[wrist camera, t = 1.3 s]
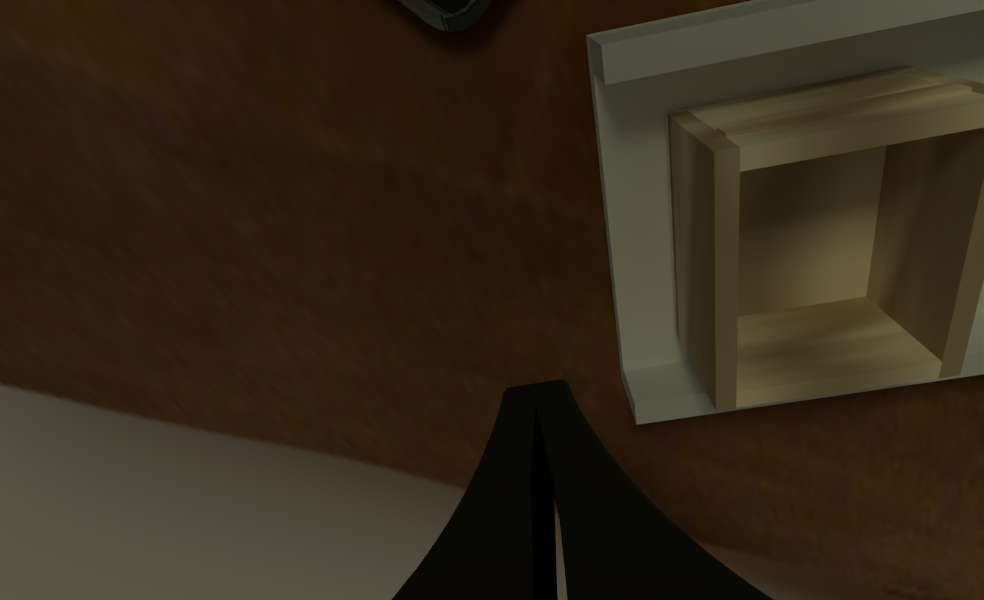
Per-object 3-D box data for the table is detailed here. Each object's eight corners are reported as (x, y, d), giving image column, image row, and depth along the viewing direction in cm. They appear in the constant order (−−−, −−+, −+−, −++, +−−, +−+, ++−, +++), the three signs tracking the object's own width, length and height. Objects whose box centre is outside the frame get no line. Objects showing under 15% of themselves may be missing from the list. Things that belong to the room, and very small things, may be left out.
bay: (1217, -97, 16) (1670, -140, 10) (1076, 312, 22) (1297, 441, 16) (586, 35, 17) (636, 68, 11) (621, 382, 24) (667, 523, 18)
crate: (906, 62, 17) (1030, 89, 13) (871, 302, 21) (959, 377, 17) (664, 109, 18) (714, 147, 14) (675, 333, 22) (715, 413, 18)
